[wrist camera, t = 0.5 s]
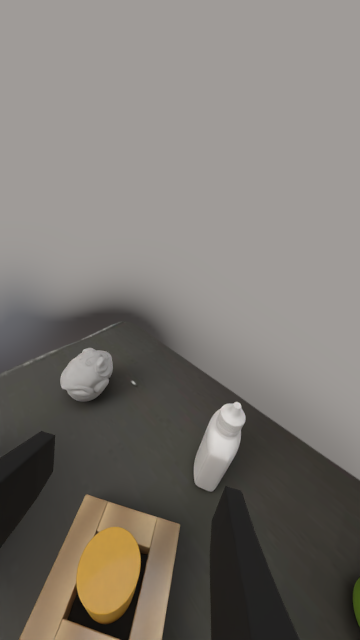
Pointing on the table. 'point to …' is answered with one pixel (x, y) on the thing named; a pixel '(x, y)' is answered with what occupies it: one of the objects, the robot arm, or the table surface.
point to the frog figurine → (87, 374)
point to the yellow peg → (108, 574)
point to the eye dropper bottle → (218, 446)
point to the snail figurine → (357, 600)
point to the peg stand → (60, 587)
